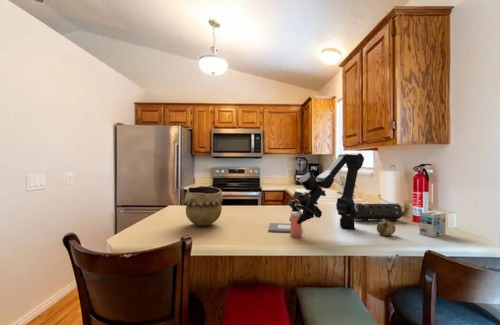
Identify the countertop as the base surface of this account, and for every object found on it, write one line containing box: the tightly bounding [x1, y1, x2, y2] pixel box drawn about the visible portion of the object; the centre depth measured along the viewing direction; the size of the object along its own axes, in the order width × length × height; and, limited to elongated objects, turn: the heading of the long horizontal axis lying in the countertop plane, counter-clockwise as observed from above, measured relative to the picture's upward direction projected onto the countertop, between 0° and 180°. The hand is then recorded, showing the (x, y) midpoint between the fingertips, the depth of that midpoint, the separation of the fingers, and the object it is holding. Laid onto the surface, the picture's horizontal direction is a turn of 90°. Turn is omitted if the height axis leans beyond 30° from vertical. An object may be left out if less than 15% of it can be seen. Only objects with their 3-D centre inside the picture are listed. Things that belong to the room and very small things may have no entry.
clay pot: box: [182, 185, 224, 227], centre depth 140 cm, size 21×21×20 cm
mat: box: [267, 222, 291, 234], centre depth 135 cm, size 16×14×1 cm
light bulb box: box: [418, 210, 447, 238], centre depth 128 cm, size 11×7×11 cm, turn 117°
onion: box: [376, 219, 397, 237], centre depth 126 cm, size 8×8×8 cm
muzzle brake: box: [354, 202, 403, 222], centre depth 156 cm, size 10×28×10 cm, turn 94°
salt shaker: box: [289, 211, 303, 239], centre depth 122 cm, size 5×5×11 cm
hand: (293, 222), depth 122 cm, fingers closed on salt shaker, 5 cm apart
